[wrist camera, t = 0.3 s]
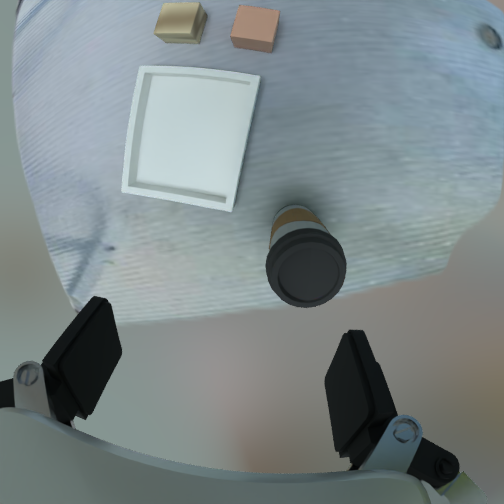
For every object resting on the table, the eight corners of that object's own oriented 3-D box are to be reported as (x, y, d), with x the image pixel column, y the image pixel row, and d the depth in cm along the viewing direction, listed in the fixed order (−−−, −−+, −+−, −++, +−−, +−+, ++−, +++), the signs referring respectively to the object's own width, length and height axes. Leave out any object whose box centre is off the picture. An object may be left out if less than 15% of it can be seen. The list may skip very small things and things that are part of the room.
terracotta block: (242, 19, 27) (239, 4, 23) (278, 24, 27) (280, 10, 23) (234, 47, 29) (230, 36, 25) (271, 53, 29) (272, 42, 25)
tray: (149, 70, 30) (139, 65, 27) (260, 81, 31) (260, 76, 28) (131, 186, 38) (121, 192, 35) (234, 205, 39) (231, 212, 36)
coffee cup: (265, 251, 41) (265, 312, 28) (265, 196, 38) (265, 235, 24) (320, 251, 41) (343, 310, 27) (324, 197, 38) (356, 237, 24)
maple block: (174, 15, 27) (163, 3, 22) (207, 15, 27) (199, 2, 22) (166, 43, 29) (153, 33, 24) (199, 44, 29) (190, 33, 24)
